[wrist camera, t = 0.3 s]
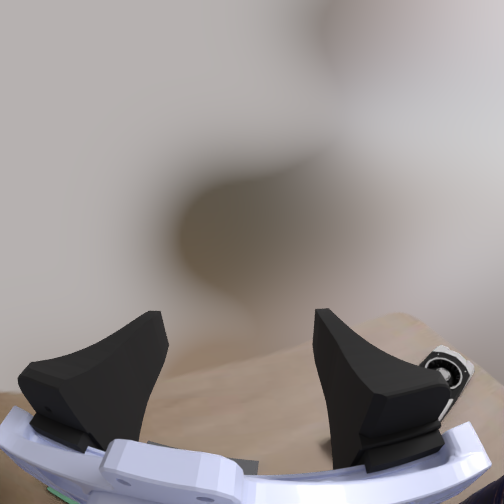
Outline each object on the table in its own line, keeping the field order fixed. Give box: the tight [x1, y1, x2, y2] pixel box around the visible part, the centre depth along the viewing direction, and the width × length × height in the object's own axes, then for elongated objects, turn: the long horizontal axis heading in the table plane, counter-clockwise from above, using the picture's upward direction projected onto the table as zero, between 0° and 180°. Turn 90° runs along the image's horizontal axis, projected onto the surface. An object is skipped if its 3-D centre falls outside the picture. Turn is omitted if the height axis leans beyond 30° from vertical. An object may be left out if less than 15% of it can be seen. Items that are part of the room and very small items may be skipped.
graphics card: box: [419, 345, 475, 422], centre depth 26 cm, size 10×3×25 cm
